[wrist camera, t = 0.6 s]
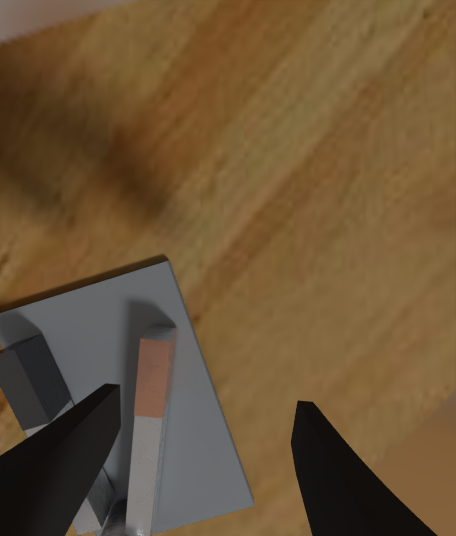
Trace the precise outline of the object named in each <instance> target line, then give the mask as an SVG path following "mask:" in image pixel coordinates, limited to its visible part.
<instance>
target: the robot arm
mask: <svg viewBox="0 0 456 536" xmlns="http://www.w3.org/2000/svg"><path fill="white" fill-rule="evenodd" d="M120 428H121V400H120V384H108V383H105V384H104V385H102V386H101V387H99V388H98V389H96V390H95V391H94V392H92V393H91V394H90V395H88V396H87V397H86V398H84V399H83V400H81V401H80V402H79V403H77V404H76V405H75V406H73V407H72V408H70V409H69V410H68V411H66V412H65V413H63V414H62V415H61V416H59V417H58V418H56V419H55V420H54V421H52V422H51V423H49V424H48V425H46V426H45V427H43V428H42V429H40V430H39V431H37V432H36V433H34V434H33V435H31V436H30V437H28V438H27V439H25V440H24V441H22V442H21V443H19V444H18V445H16V446H15V447H13V448H12V449H10V450H9V451H7V452H5V453H4V454H2V455H0V536H65V534H66V532H67V531H68V529H69V527H70V525H71V523H72V522H73V520H74V518H75V516H76V514H77V513H78V511H79V509H80V507H81V505H82V504H83V502H84V500H85V498H86V496H87V495H88V493H89V491H90V489H91V487H92V485H93V484H94V482H95V480H96V478H97V476H98V475H99V473H100V471H101V469H102V467H103V465H104V464H105V462H106V460H107V458H108V456H109V454H110V452H111V449H112V447H113V445H114V443H115V440H116V438H117V435H118V433H119V430H120ZM291 447H292V453H293V459H294V465H295V471H296V475H297V479H298V483H299V487H300V491H301V495H302V498H303V502H304V506H305V510H306V513H307V517H308V521H309V524H310V528H311V532H312V535H313V536H437V535H436V534H435V533H434V532H433V531H432V530H431V529H430V528H429V527H428V526H426V525H425V524H424V523H423V522H422V521H421V520H420V519H419V518H418V517H417V516H416V515H415V514H414V513H413V512H412V511H411V510H410V509H409V508H408V507H407V506H405V505H404V504H403V503H402V502H401V501H400V500H399V499H398V498H397V497H396V496H395V495H394V494H393V493H392V492H391V491H390V490H389V489H388V488H387V487H386V486H385V485H384V484H383V482H382V481H381V480H380V479H379V478H378V477H377V476H376V475H375V474H374V473H373V472H372V471H371V470H370V469H369V468H368V466H367V465H366V464H365V463H364V462H363V461H362V460H361V459H360V458H359V457H358V455H357V454H356V453H355V452H354V451H353V450H352V448H351V447H350V446H349V445H348V444H347V443H346V442H345V440H344V439H343V438H342V437H341V436H340V434H339V433H338V432H337V431H336V430H335V428H334V427H333V426H332V425H331V423H330V422H329V421H328V420H327V419H326V417H325V416H324V415H323V414H322V412H321V411H320V410H319V409H318V407H317V406H316V405H315V404H314V403H313V402H308V401H298V402H297V408H296V414H295V420H294V426H293V432H292V439H291Z"/></svg>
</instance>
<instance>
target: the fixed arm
mask: <svg viewBox="0 0 456 536" xmlns="http://www.w3.org/2000/svg"><path fill="white" fill-rule="evenodd" d="M0 387H1V389H2V391H3V393H4V395H5V397H6V399H7V400H8V402H9V404H10V406H11V408H12V410H13V412H14V414H15V416H16V418H17V420H18V422H19V424H20V426H21V428H22V430H23V431H25V432H26V434H27V436H28V437H30V436H31V435H33V434H34V433H36V432H37V431H39V430H40V429H42V428H43V427H45V426H46V425H48V424H49V423H51V422H52V421H54V420H55V419H56V418H58V417H59V416H61V415H62V414H63V413H65V412H66V411H68V410H69V409H70V408H72V407H73V406H74V405H73V403H72V401H71V399H72V398H71V396H70V394H69V392H68V390H67V388H66V386H65V383H64V381H63V379H62V377H61V375H60V373H59V371H58V368H57V366H56V364H55V362H54V360H53V358H52V356H51V353H50V351H49V349H48V347H47V345H46V343H45V340H44V338H43V336H42V334H40V335H36V336H33V337H30V338H27V339H23V340H20V341H17V342H15V343H13V344H11V345H9V346H8V347H6V348H4V349H2V350H0ZM114 498H115V493H114V491H113V489H112V487H111V485H110V483H109V480H108V478H107V476H106V474H105V472H104V470H103V468H102V469H101V471H100V473H99V475H98V476H97V478H96V480H95V482H94V484H93V485H92V487H91V489H90V491H89V493H88V495H87V496H86V498H85V500H84V502H83V504H82V505H81V507H80V509H79V511H78V513H77V514H76V516H75V518H74V520H73V522H72V524H73V526H74V528H75V530H76V532H77V534H78V535H81V534H85V533H88V532H92V531H95V530H99V529H102V527H103V525H104V522H105V520H106V517H107V515H108V512H109V510H110V508H111V505H112V503H113V500H114Z"/></svg>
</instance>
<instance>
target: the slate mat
mask: <svg viewBox="0 0 456 536" xmlns="http://www.w3.org/2000/svg"><path fill="white" fill-rule="evenodd" d="M151 324H152V325H160V326H169V327H177V337H176V346H175V356H174V365H173V374H172V383H171V393H170V397H169V405H168V414H167V423H166V433H165V442H164V451H163V460H162V470H161V479H160V488H159V498H158V507H157V515H156V519H155V523H154V528H153V532H152V534H155V533H159V532H163V531H166V530H170V529H173V528H177V527H181V526H184V525H188V524H191V523H195V522H198V521H202V520H206V519H209V518H213V517H216V516H220V515H223V514H227V513H231V512H234V511H238V510H241V509H245V508H248V507H252V506H254V498H253V495H252V493H251V490H250V487H249V484H248V481H247V478H246V476H245V473H244V470H243V467H242V464H241V461H240V459H239V456H238V453H237V450H236V447H235V444H234V442H233V439H232V436H231V433H230V430H229V428H228V425H227V422H226V419H225V416H224V413H223V411H222V408H221V405H220V402H219V399H218V396H217V394H216V391H215V388H214V385H213V382H212V380H211V377H210V374H209V371H208V368H207V365H206V363H205V360H204V357H203V354H202V351H201V348H200V346H199V343H198V340H197V337H196V334H195V332H194V329H193V326H192V323H191V320H190V317H189V315H188V312H187V309H186V306H185V303H184V300H183V298H182V295H181V292H180V289H179V286H178V284H177V281H176V278H175V275H174V272H173V269H172V267H171V264H170V261H169V260H168V261H164V262H161V263H158V264H155V265H152V266H149V267H145V268H142V269H139V270H136V271H133V272H129V273H126V274H123V275H120V276H117V277H113V278H110V279H107V280H104V281H101V282H98V283H94V284H91V285H88V286H85V287H82V288H78V289H75V290H72V291H69V292H66V293H62V294H59V295H56V296H53V297H50V298H47V299H43V300H40V301H37V302H34V303H31V304H27V305H24V306H21V307H18V308H15V309H12V310H8V311H5V312H2V313H0V344H1V346H2V348H3V349H4V348H6V347H8V346H9V345H11V344H13V343H15V342H17V341H20V340H23V339H27V338H30V337H33V336H36V335H40V334H42V336H43V338H44V340H45V343H46V345H47V347H48V349H49V351H50V353H51V356H52V358H53V360H54V362H55V364H56V366H57V368H58V371H59V373H60V375H61V377H62V379H63V381H64V383H65V386H66V388H67V390H68V392H69V394H70V396H71V398H72V399H71V401H72V403H73V405H74V406H75V405H76V404H77V403H79V402H80V401H81V400H83V399H84V398H86V397H87V396H88V395H90V394H91V393H92V392H94V391H95V390H96V389H98V388H99V387H101V386H102V385H104V384H105V383H108V384H120V400H121V428H120V430H119V433H118V435H117V438H116V440H115V443H114V445H113V447H112V449H111V452H110V454H109V456H108V458H107V460H106V462H105V464H104V465H103V467H102V468H103V470H104V472H105V474H106V476H107V478H108V480H109V483H110V485H111V487H112V489H113V491H114V493H115V498H114V500H113V503H112V505H111V508H110V510H109V512H108V515H107V517H106V520H105V522H104V525H103V527H102V529H99V530H95V531H94V532H95V534H96V536H101V533H102V531H103V528H104V526H105V523H106V521H107V518H108V516H109V513H110V511H111V509H112V507H113V506H114V505H115V504H116V503H118V502H120V501H122V500H128V489H129V477H130V466H131V454H132V442H133V430H134V418H135V416H134V407H135V395H136V383H137V371H138V359H139V347H140V338H141V337H142V336H143V334H144V333H145V332H146V330H147V329H148V328H149V326H150V325H151Z"/></svg>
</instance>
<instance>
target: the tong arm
mask: <svg viewBox="0 0 456 536" xmlns="http://www.w3.org/2000/svg"><path fill="white" fill-rule="evenodd" d="M176 337H177V327H169V326H160V325H152V324H151V325H150V326H149V328H148V329H147V330H146V332H145V333H144V334H143V336H142V337H141V338H140V347H139V359H138V371H137V383H136V395H135V407H134V416H135V418H134V430H133V442H132V454H131V466H130V477H129V489H128V500H122V501H120V502H118V503H116V504H115V505H114V506H113V507H112V509H111V511H110V513H109V516H108V518H107V521H106V523H105V526H104V528H103V531H102V533H101V536H152V532H153V528H154V523H155V519H156V515H157V507H158V498H159V488H160V479H161V470H162V460H163V451H164V442H165V433H166V423H167V414H168V405H169V397H170V393H171V383H172V374H173V365H174V356H175V346H176Z"/></svg>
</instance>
